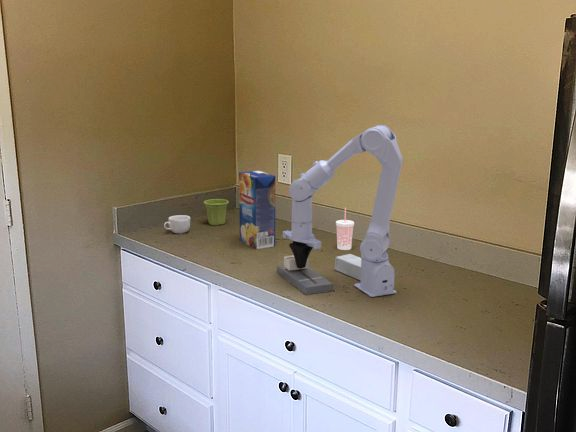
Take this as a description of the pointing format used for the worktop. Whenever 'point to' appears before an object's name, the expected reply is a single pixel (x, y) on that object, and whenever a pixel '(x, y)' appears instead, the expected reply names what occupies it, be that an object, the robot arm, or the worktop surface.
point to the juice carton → (257, 209)
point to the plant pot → (216, 211)
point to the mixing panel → (306, 280)
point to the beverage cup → (344, 233)
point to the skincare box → (349, 265)
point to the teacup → (179, 223)
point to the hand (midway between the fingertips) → (301, 267)
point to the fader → (292, 263)
